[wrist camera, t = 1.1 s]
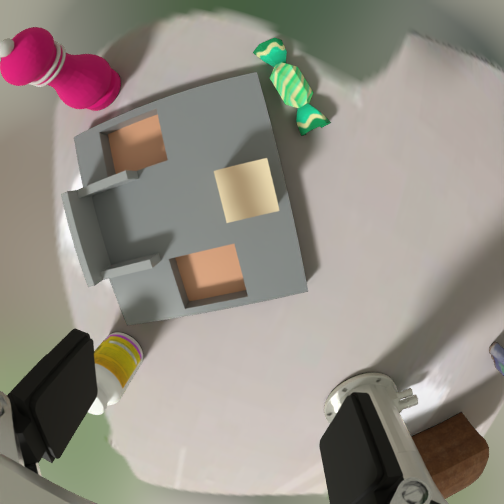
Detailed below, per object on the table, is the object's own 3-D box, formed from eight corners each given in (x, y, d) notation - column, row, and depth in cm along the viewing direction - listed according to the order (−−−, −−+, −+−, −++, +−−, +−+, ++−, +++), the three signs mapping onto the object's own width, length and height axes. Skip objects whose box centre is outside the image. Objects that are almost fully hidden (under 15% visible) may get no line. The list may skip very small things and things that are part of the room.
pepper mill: (72, 98, 31) (-30, 68, 11) (104, 58, 29) (13, 2, 10) (100, 124, 32) (-12, 98, 12) (134, 81, 30) (39, 20, 11)
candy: (334, 122, 31) (323, 123, 28) (310, 133, 33) (297, 137, 30) (285, 41, 28) (269, 35, 25) (265, 55, 30) (247, 51, 27)
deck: (257, 79, 30) (255, 54, 23) (305, 284, 36) (315, 309, 29) (83, 138, 32) (50, 133, 25) (134, 317, 38) (111, 343, 31)
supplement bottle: (110, 323, 39) (66, 370, 26) (149, 343, 39) (114, 399, 27) (103, 354, 40) (64, 402, 28) (139, 373, 41) (108, 428, 28)
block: (266, 161, 30) (267, 157, 26) (276, 206, 32) (279, 210, 27) (221, 172, 31) (213, 171, 26) (232, 216, 32) (226, 223, 27)
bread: (451, 448, 46) (474, 489, 31) (343, 491, 49) (353, 541, 34) (463, 406, 42) (496, 453, 27) (335, 458, 45) (349, 521, 30)
